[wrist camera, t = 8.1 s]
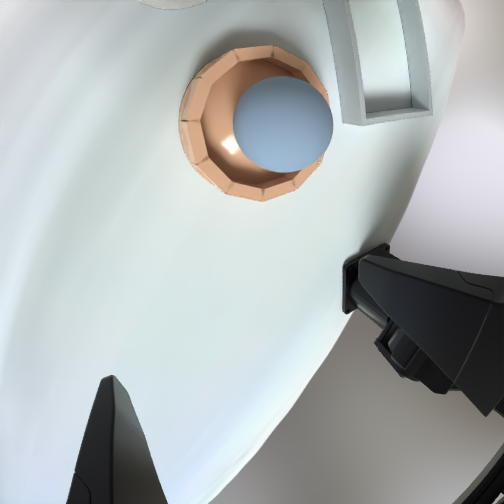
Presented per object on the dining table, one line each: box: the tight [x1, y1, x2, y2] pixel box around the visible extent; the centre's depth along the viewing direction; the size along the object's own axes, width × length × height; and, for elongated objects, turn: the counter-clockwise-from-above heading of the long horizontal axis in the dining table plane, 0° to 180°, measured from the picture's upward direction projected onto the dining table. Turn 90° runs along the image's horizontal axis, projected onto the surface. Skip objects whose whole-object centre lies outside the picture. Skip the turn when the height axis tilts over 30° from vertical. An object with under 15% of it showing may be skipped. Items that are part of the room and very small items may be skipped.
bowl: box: [179, 45, 329, 202], centre depth 18 cm, size 10×10×2 cm
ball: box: [233, 76, 333, 173], centre depth 16 cm, size 6×6×6 cm
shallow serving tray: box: [323, 0, 433, 126], centre depth 19 cm, size 15×10×2 cm
